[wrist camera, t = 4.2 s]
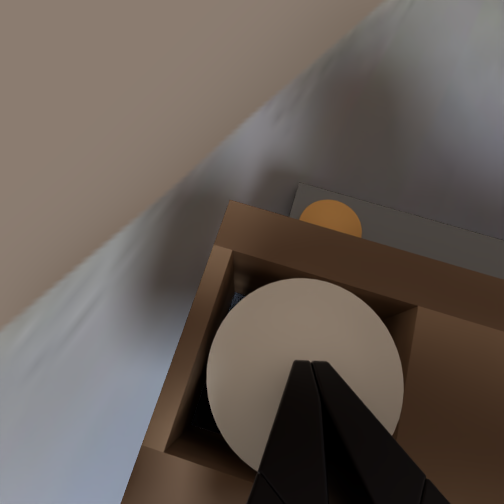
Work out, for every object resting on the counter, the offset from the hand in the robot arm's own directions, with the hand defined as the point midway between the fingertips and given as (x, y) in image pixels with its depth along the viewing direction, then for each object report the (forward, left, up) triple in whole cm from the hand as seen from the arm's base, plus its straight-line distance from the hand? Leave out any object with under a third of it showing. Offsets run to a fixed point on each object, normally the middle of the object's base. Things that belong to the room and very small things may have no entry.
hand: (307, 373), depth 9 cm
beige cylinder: (0, 0, -6) cm, 6 cm away
